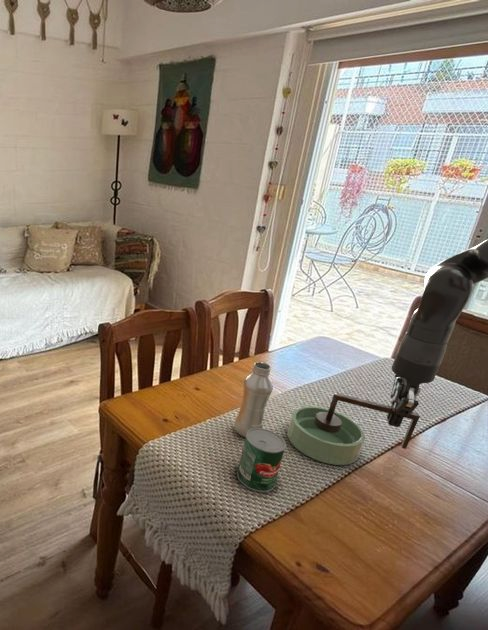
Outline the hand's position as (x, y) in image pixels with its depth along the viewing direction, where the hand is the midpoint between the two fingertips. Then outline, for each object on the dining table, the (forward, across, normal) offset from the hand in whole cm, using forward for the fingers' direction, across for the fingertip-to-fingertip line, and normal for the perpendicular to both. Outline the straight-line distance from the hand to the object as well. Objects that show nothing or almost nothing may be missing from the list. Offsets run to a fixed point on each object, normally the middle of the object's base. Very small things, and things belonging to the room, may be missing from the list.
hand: (392, 422), depth 100 cm
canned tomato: (+11, -21, +25) cm, 35 cm away
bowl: (+11, 0, +12) cm, 16 cm away
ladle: (+6, 0, +5) cm, 8 cm away
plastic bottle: (+11, -5, +29) cm, 31 cm away
